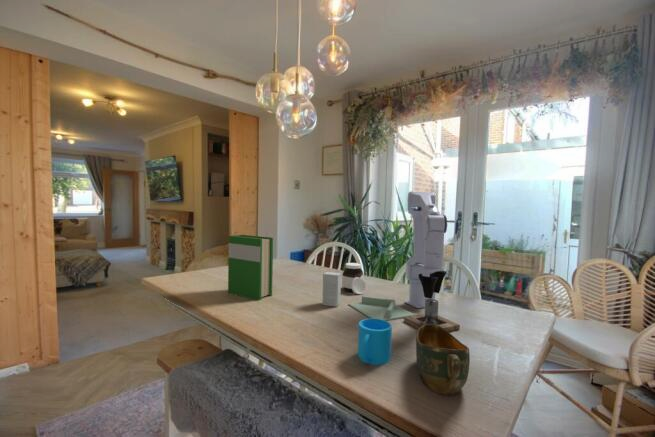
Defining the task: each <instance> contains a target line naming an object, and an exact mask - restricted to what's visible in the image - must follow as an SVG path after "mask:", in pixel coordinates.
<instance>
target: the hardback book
mask: <svg viewBox="0 0 655 437" xmlns="http://www.w3.org/2000/svg"><path fill="white" fill-rule="evenodd" d="M273 258H274V237H269V236H259V235H249V234H235V235H229V236H228V258H227V259H228V265H227V266H228V277H227V280H228V281H227V285H228V286H227V293H228V292H229V293H228V294H231V293H233V294H232V295H235V294H237V295H236V296H239V295H241V296H240V297H243V296H244V298H248V299H253V300H257V301H261V300H262V298H264V297H265V296H267V295H268V297H272V296H273V276H274V275H273V271H274V270H273V268H274V266H273V265H274V263H273V262H274V259H273Z"/></svg>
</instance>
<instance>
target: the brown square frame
mask: <svg viewBox="0 0 655 437" xmlns="http://www.w3.org/2000/svg"><path fill="white" fill-rule="evenodd" d="M424 321H425V312H424V313H420V314H415V315H412V316H406V317H404V318H403V322H404V323H406V324H408V325H410V326H412V327H413V328H416V329H417V330H418V329H419V328H420V327H421V326H422V325H424V324H425V323H424ZM438 326H440V327H442V328H444V329H445V330H447V331H448V332H449V333H451V332H454V331H458V330H460V328H461V325H460V324H459V323H456V322H455V321H453V320H450V319H447V318H446V317H443V316H441V315H439V314H438Z"/></svg>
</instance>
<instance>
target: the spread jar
mask: <svg viewBox="0 0 655 437" xmlns="http://www.w3.org/2000/svg"><path fill="white" fill-rule="evenodd" d="M361 268H362V264H361V263H358V262H357V263H356V262H348V263H347V262H346V263H345V268H344V270H343V271H342V274H341V287H342V289H343V290H345V291H346V292H350V293H354V294H356V295H362V294H364V293H365V292H366V290H367V283H366V281H365V280H364V271H363V269H361Z"/></svg>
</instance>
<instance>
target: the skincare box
mask: <svg viewBox="0 0 655 437" xmlns="http://www.w3.org/2000/svg"><path fill="white" fill-rule="evenodd" d="M341 287H342V274H341V272H332V271H331V272H330V271H326V272H324V273H323V274H322V306H326V307H327V306H329V307H335V308H337V307H339V306H340V305H341Z"/></svg>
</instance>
